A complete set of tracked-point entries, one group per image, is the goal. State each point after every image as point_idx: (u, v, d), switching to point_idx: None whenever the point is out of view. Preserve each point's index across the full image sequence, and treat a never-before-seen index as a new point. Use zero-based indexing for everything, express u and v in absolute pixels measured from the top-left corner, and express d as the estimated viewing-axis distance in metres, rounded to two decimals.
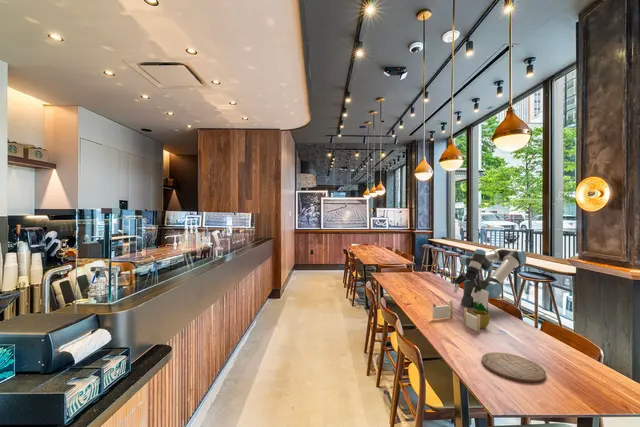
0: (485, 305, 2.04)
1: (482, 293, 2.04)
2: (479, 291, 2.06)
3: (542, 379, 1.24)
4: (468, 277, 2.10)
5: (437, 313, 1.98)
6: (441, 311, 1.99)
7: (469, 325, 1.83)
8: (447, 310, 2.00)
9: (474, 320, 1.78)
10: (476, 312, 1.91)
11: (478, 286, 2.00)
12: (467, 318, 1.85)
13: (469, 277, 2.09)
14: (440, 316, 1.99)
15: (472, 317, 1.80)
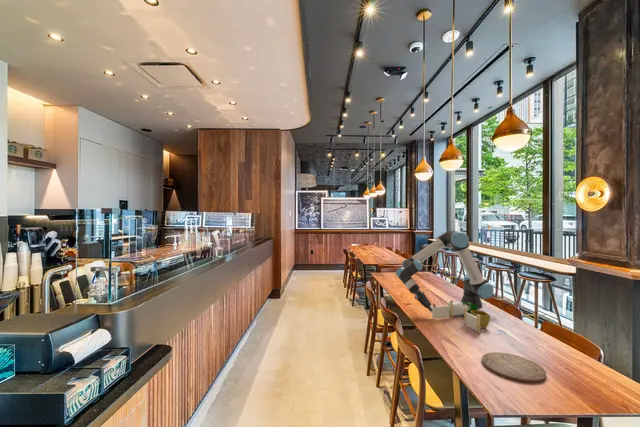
0: None
1: (454, 311, 2.05)
2: None
3: (543, 379, 1.24)
4: None
5: (437, 313, 1.98)
6: (441, 311, 1.99)
7: (469, 325, 1.83)
8: (447, 310, 2.00)
9: (474, 320, 1.78)
10: (476, 312, 1.91)
11: (424, 306, 2.03)
12: (467, 318, 1.85)
13: None
14: (440, 316, 1.99)
15: (472, 317, 1.80)
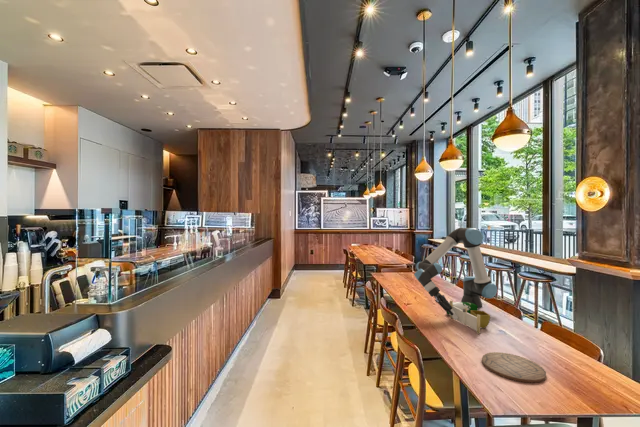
0: None
1: None
2: None
3: (543, 379, 1.24)
4: None
5: None
6: None
7: (469, 325, 1.83)
8: None
9: (474, 320, 1.78)
10: (476, 312, 1.91)
11: (445, 310, 1.94)
12: (467, 318, 1.85)
13: None
14: None
15: (472, 317, 1.80)
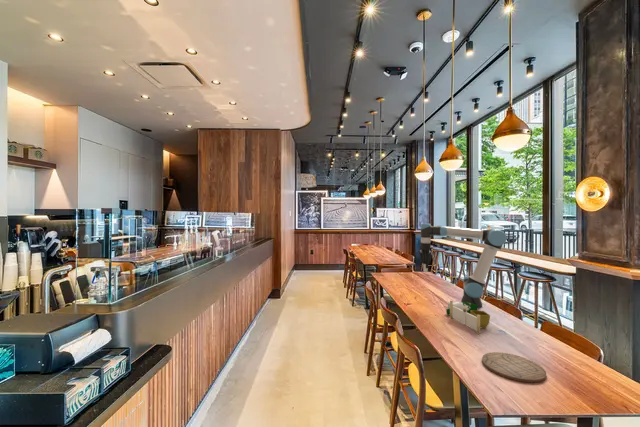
0: None
1: None
2: None
3: (543, 379, 1.24)
4: (424, 252, 2.33)
5: None
6: None
7: (469, 325, 1.83)
8: None
9: (474, 320, 1.78)
10: (476, 312, 1.91)
11: (427, 262, 2.29)
12: (467, 318, 1.85)
13: (424, 252, 2.32)
14: None
15: (472, 317, 1.80)
